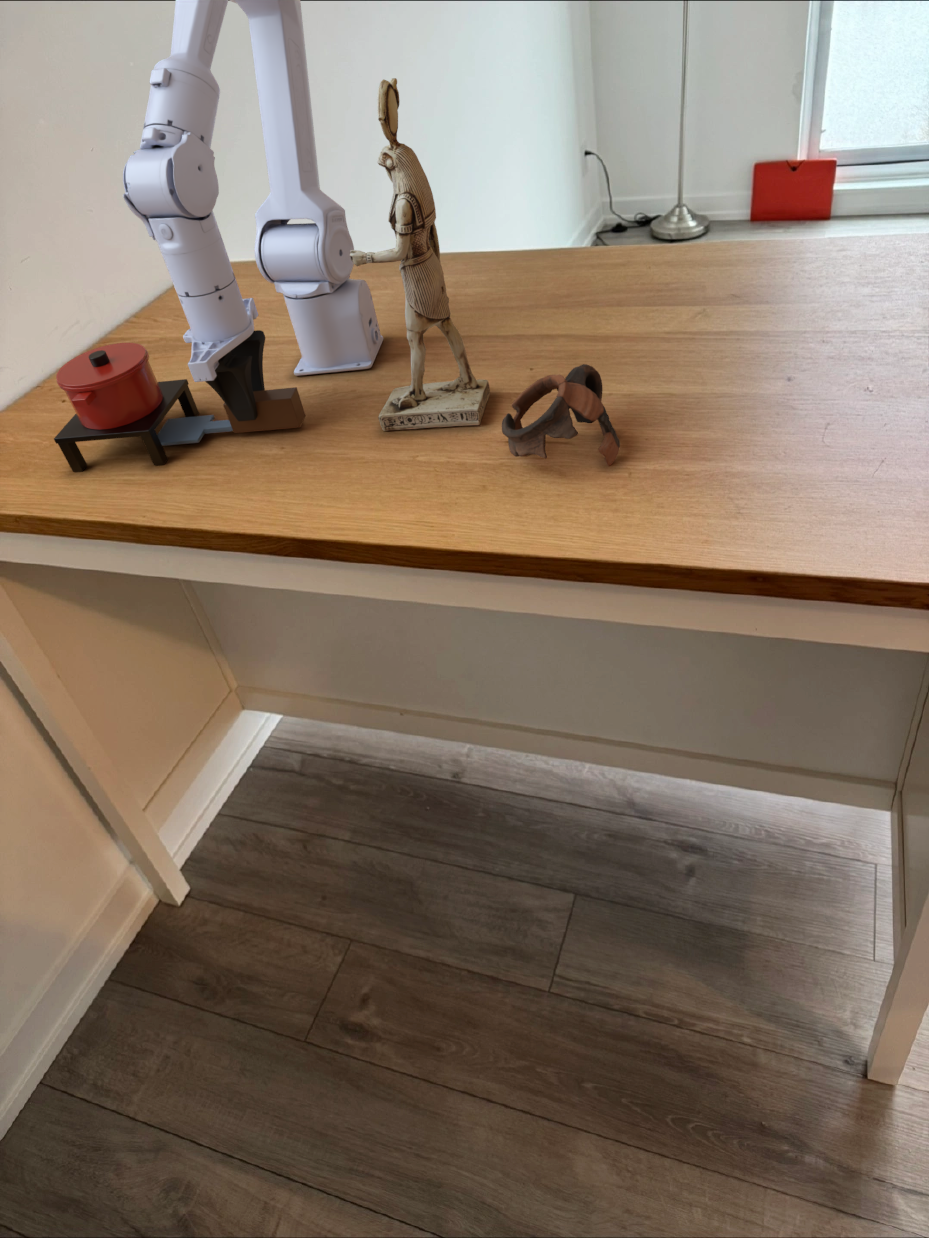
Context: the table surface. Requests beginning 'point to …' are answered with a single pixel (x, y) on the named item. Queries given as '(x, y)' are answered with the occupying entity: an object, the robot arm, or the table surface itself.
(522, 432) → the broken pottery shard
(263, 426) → the spatula
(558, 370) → the table surface
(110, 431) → the pot
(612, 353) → the table surface
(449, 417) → the statue
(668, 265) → the table surface
